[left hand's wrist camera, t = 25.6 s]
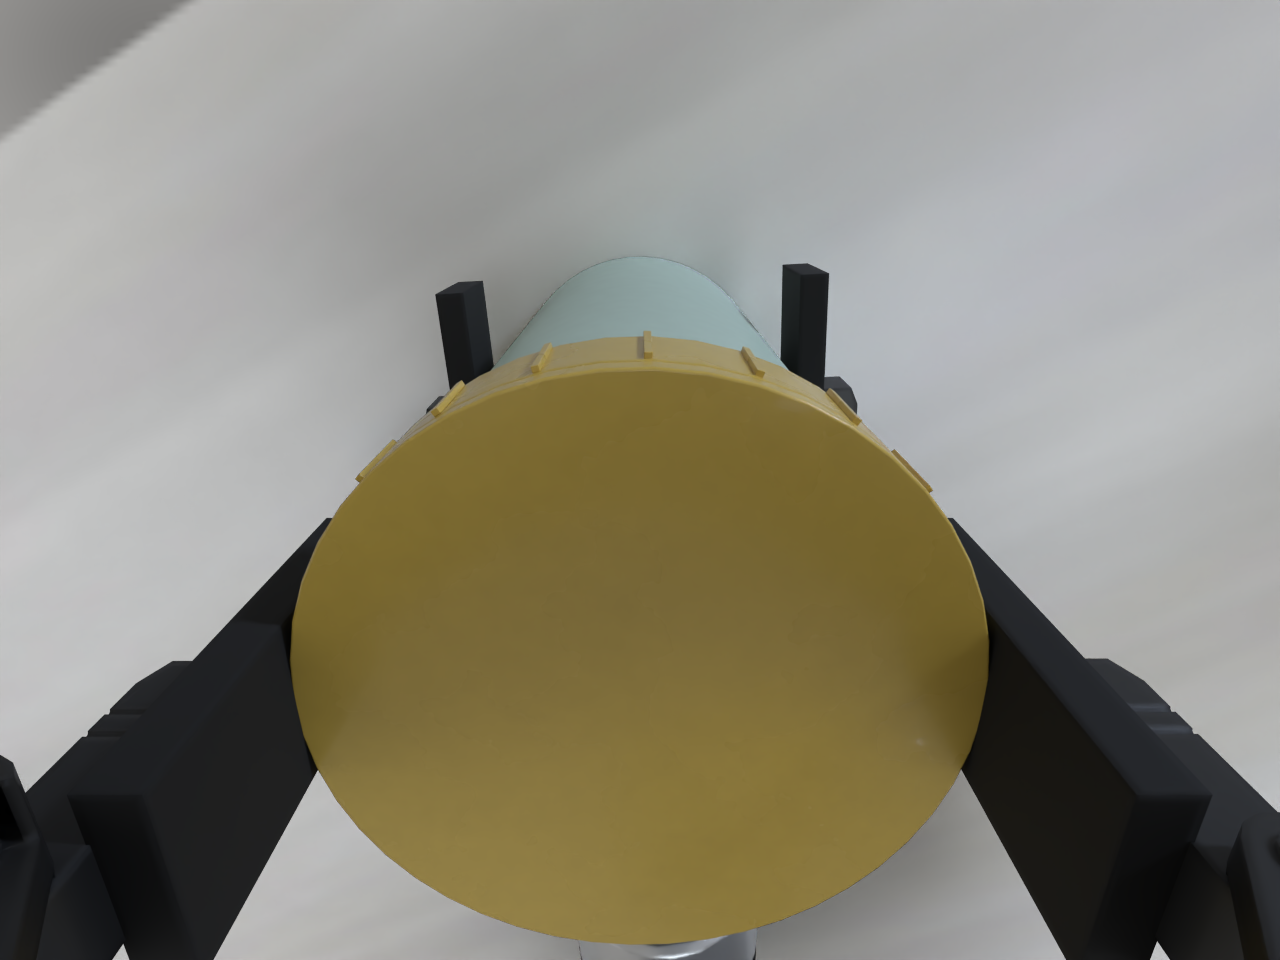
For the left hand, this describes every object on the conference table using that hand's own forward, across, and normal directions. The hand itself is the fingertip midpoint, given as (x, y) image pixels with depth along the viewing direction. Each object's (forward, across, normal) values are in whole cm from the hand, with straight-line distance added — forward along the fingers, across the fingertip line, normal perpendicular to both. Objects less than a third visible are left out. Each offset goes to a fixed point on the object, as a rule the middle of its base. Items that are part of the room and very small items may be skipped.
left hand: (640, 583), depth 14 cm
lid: (-3, 0, 0) cm, 3 cm away
